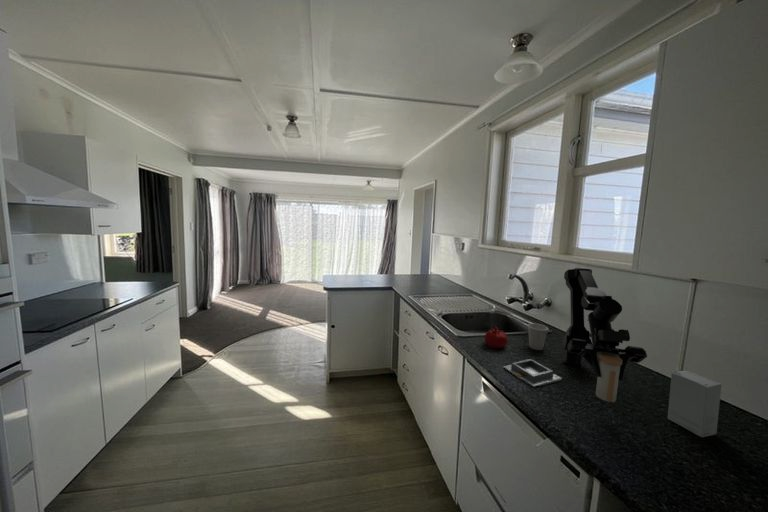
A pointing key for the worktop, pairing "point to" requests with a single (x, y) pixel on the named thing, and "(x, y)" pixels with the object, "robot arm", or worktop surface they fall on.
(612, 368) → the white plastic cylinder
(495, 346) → the pomegranate
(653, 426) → the worktop surface
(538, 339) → the dixie cup
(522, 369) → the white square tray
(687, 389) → the skincare box
